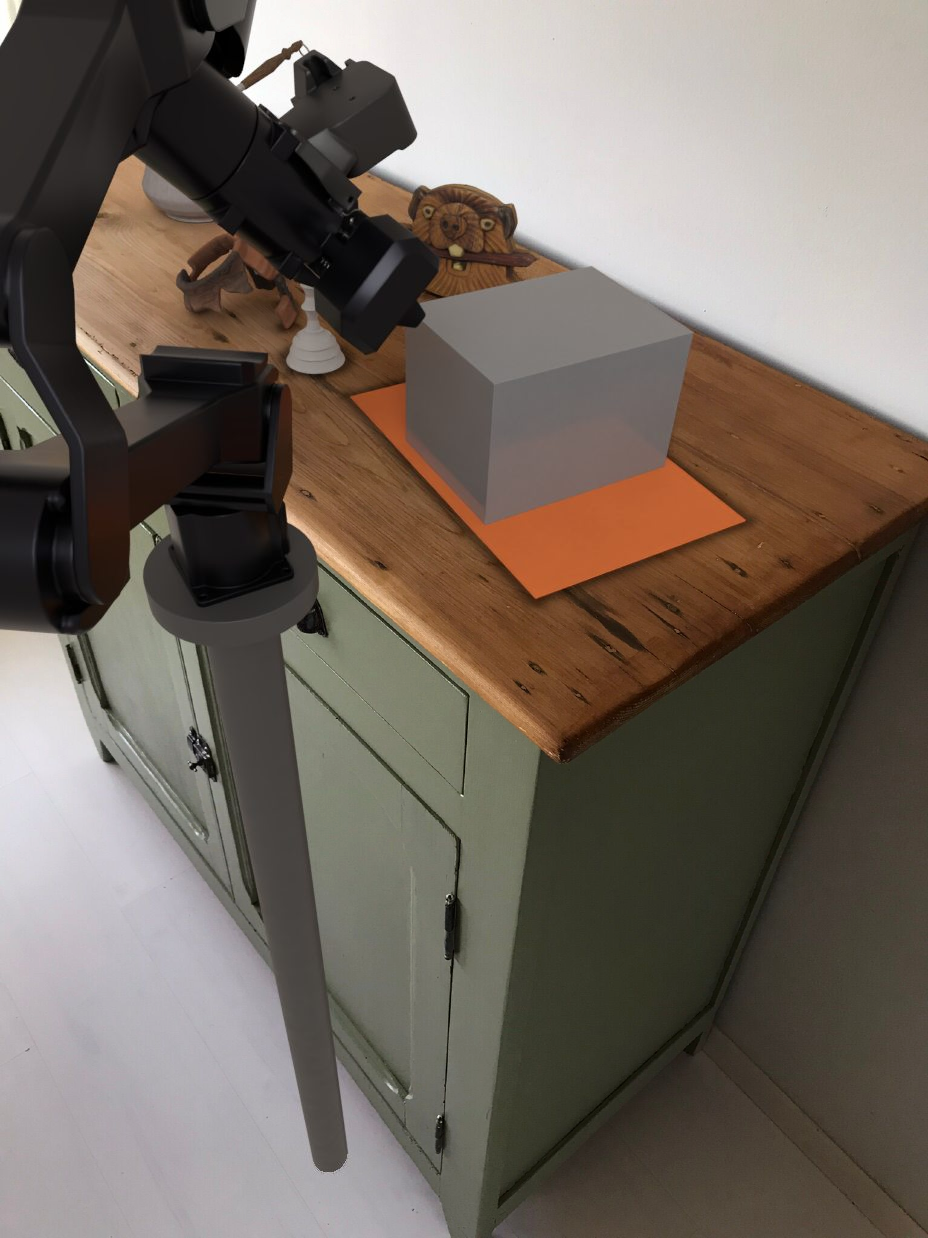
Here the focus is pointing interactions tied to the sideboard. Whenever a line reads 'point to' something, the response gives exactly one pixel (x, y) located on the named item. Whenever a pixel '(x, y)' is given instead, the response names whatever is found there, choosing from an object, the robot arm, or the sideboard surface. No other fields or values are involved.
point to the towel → (574, 515)
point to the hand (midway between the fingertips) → (412, 313)
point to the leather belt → (232, 277)
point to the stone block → (542, 389)
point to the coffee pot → (171, 197)
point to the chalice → (314, 343)
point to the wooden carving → (467, 238)
